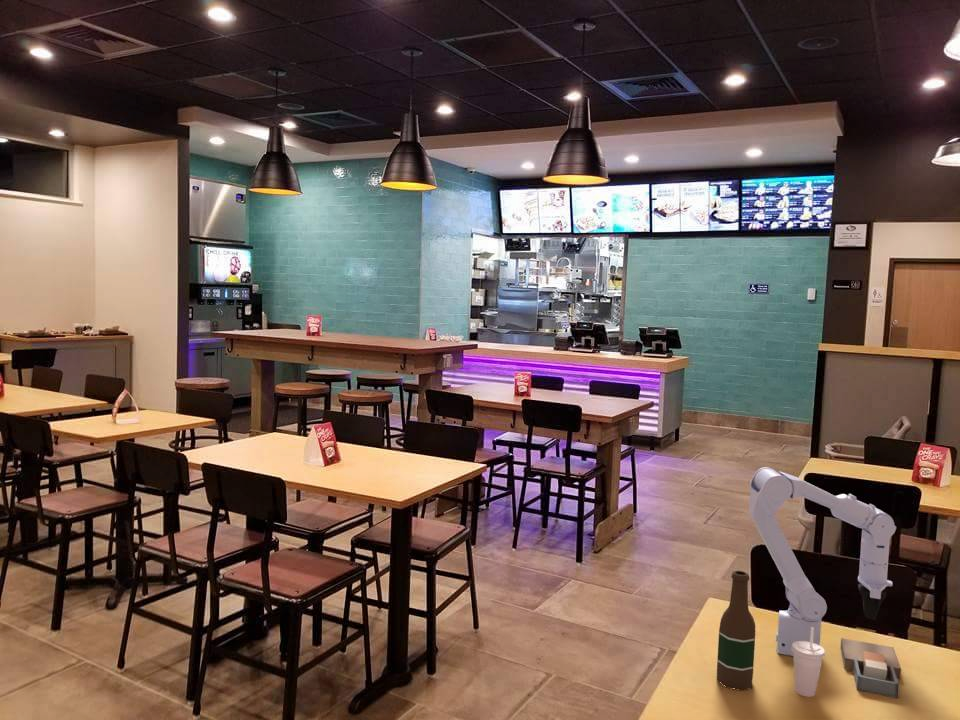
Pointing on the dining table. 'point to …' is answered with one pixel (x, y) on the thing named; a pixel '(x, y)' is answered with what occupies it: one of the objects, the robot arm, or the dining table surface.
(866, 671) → the cream tile
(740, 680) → the beer bottle
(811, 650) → the smoothie
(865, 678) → the tray
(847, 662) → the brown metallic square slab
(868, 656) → the terracotta tile
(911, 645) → the dining table surface
